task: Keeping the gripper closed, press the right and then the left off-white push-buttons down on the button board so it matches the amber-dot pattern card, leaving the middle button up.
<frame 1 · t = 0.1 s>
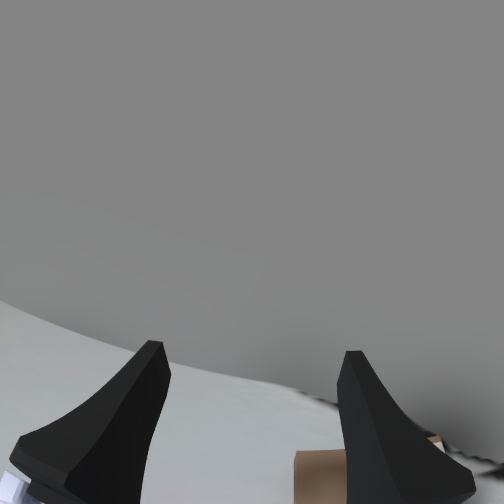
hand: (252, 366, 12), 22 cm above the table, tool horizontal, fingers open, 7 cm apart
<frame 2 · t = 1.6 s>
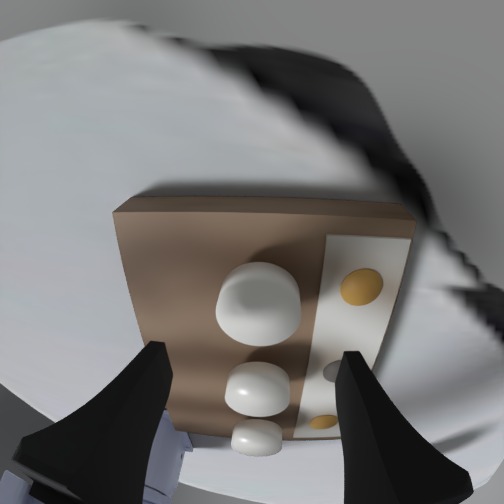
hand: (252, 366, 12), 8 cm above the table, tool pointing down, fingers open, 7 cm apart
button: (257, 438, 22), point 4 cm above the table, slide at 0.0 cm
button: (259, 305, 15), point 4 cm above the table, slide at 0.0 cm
button middle: (257, 390, 18), point 4 cm above the table, slide at 0.0 cm
button board: (261, 342, 22), on the table
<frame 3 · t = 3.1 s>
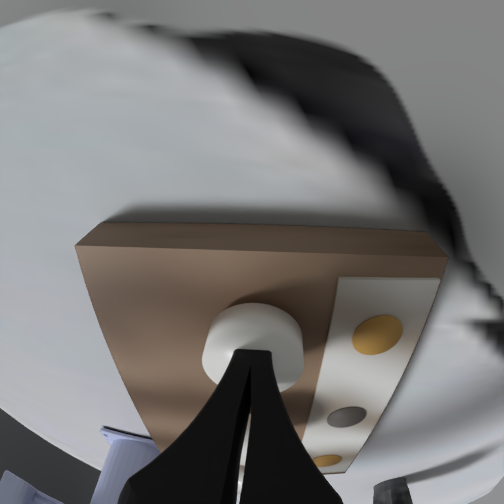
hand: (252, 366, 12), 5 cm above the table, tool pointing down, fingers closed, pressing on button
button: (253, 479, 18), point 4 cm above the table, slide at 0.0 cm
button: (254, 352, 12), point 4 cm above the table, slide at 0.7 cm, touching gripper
button middle: (253, 442, 15), point 4 cm above the table, slide at 0.0 cm
button board: (258, 383, 19), on the table
beverage cup: (389, 482, 30), on the table
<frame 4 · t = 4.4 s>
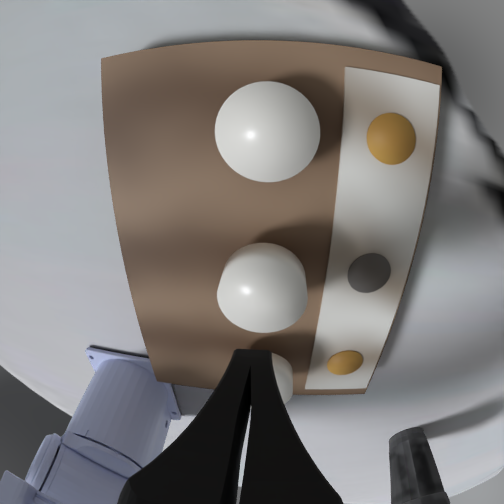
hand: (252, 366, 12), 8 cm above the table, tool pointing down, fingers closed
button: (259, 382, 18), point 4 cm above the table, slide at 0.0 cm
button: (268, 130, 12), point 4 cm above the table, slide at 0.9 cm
button middle: (263, 289, 14), point 4 cm above the table, slide at 0.0 cm
button board: (267, 244, 18), on the table
beverage cup: (405, 435, 29), on the table
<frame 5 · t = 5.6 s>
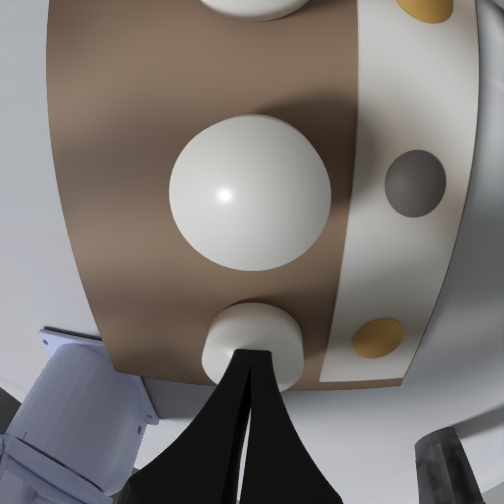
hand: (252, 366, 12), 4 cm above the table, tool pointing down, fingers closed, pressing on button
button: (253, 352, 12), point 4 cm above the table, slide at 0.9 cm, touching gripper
button middle: (251, 190, 8), point 4 cm above the table, slide at 0.0 cm
button board: (259, 158, 12), on the table
beverage cup: (434, 437, 23), on the table
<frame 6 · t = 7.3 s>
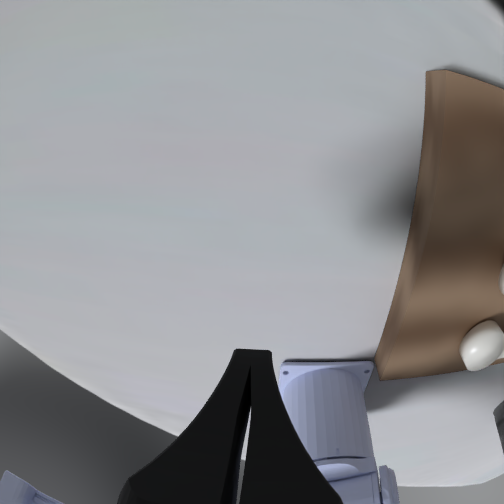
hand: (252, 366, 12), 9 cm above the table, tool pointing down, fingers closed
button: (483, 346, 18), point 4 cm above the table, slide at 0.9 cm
button board: (493, 245, 18), on the table
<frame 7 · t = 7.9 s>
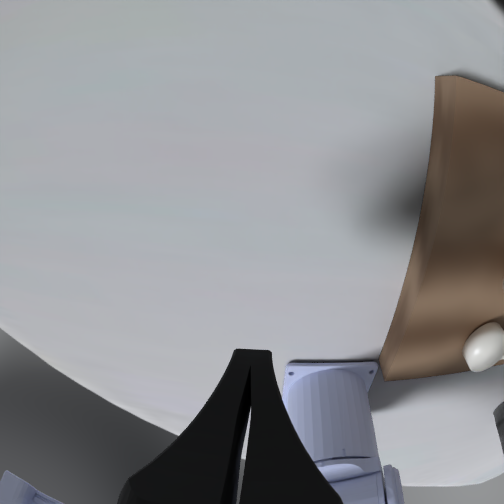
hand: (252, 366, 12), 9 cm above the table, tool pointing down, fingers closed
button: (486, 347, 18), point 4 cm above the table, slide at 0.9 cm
button board: (497, 248, 18), on the table
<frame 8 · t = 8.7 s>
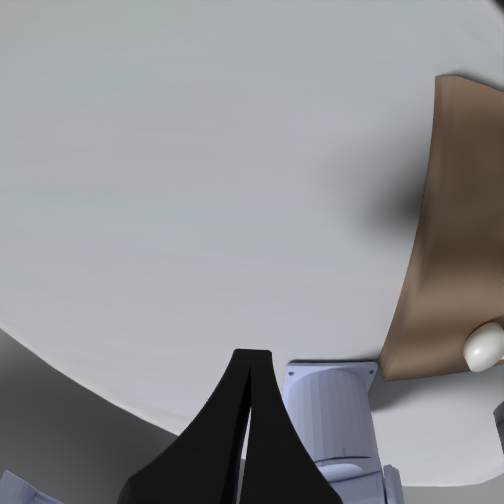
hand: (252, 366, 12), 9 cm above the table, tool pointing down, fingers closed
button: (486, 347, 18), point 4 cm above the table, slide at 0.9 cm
button board: (497, 248, 18), on the table
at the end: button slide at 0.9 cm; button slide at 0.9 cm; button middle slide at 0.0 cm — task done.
